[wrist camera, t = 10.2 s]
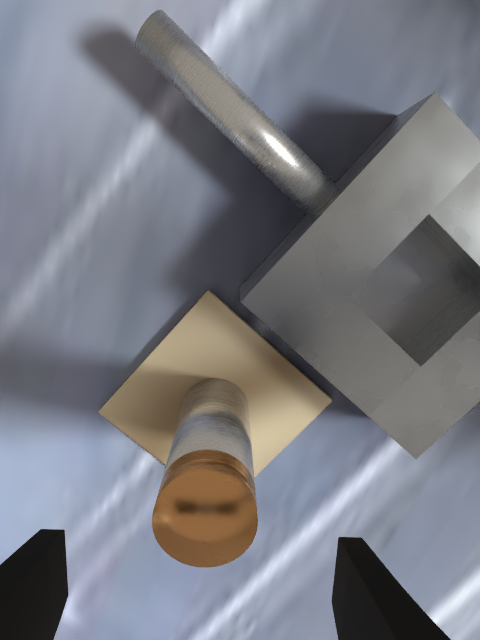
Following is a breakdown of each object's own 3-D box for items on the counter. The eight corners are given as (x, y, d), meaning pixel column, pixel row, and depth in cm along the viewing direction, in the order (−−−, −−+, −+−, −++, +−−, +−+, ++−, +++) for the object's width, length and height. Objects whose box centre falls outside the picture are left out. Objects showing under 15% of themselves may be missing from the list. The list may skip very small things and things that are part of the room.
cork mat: (330, 397, 21) (332, 401, 21) (222, 504, 23) (222, 509, 22) (208, 289, 20) (208, 290, 20) (100, 408, 21) (97, 412, 21)
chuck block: (544, 273, 20) (608, 284, 17) (387, 421, 22) (416, 459, 18) (241, -54, 17) (243, -123, 14) (83, 147, 19) (49, 131, 15)
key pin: (261, 401, 21) (278, 511, 13) (223, 451, 21) (218, 584, 14) (206, 365, 20) (190, 456, 13) (169, 416, 21) (131, 534, 13)
